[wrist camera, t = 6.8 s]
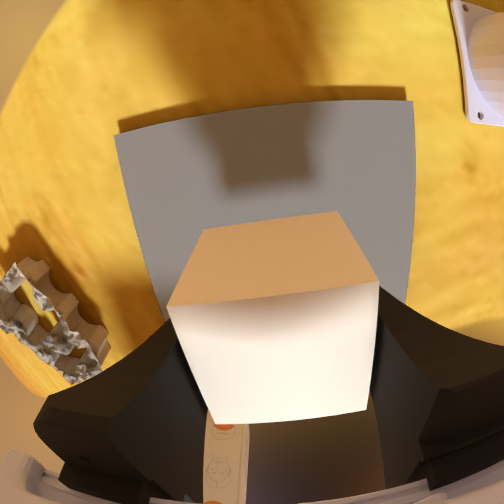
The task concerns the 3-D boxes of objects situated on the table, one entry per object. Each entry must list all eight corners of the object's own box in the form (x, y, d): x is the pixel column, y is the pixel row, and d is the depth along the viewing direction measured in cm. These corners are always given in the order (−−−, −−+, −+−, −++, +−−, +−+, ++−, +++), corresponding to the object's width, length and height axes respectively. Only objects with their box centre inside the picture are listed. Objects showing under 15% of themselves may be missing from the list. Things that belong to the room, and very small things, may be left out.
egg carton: (4, 280, 21) (-22, 305, 18) (40, 239, 19) (6, 265, 16) (78, 367, 25) (60, 397, 21) (125, 344, 23) (107, 381, 19)
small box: (171, 426, 28) (144, 538, 16) (155, 388, 25) (115, 519, 13) (251, 432, 27) (243, 552, 15) (248, 394, 24) (236, 541, 13)
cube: (337, 211, 11) (379, 281, 7) (341, 319, 13) (366, 409, 9) (203, 229, 12) (166, 306, 7) (230, 332, 14) (215, 424, 9)
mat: (406, 100, 14) (412, 101, 13) (398, 313, 20) (402, 320, 19) (120, 133, 16) (113, 135, 15) (174, 333, 22) (171, 341, 21)
